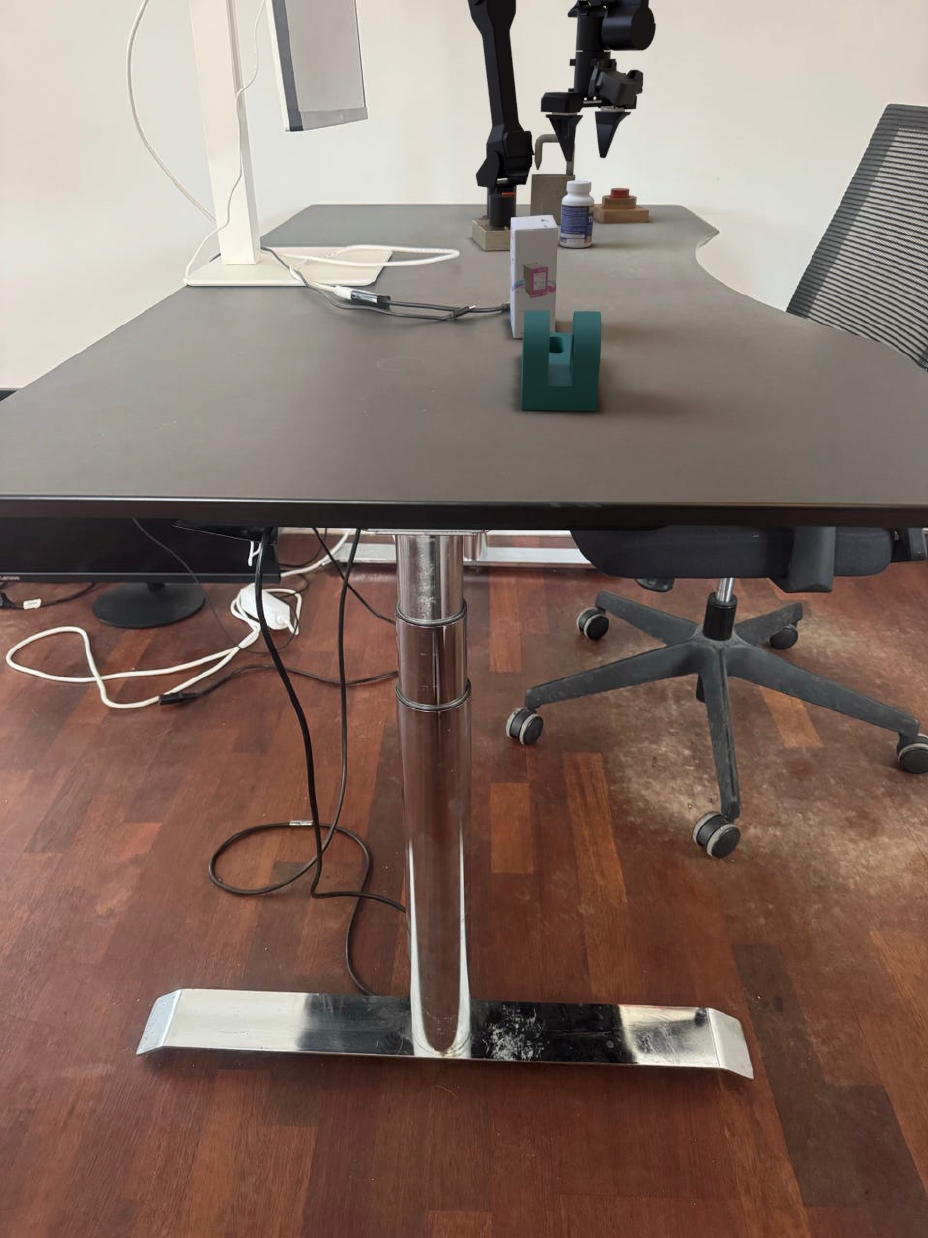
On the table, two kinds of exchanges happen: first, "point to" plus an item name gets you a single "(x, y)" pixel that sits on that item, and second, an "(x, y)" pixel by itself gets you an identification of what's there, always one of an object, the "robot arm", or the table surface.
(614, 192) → the button
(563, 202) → the pill bottle
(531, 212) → the padlock
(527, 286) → the ink box
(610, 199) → the wooden button base
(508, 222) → the knob
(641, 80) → the robot arm
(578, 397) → the bracket
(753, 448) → the table surface
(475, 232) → the beige flat rectangular block
